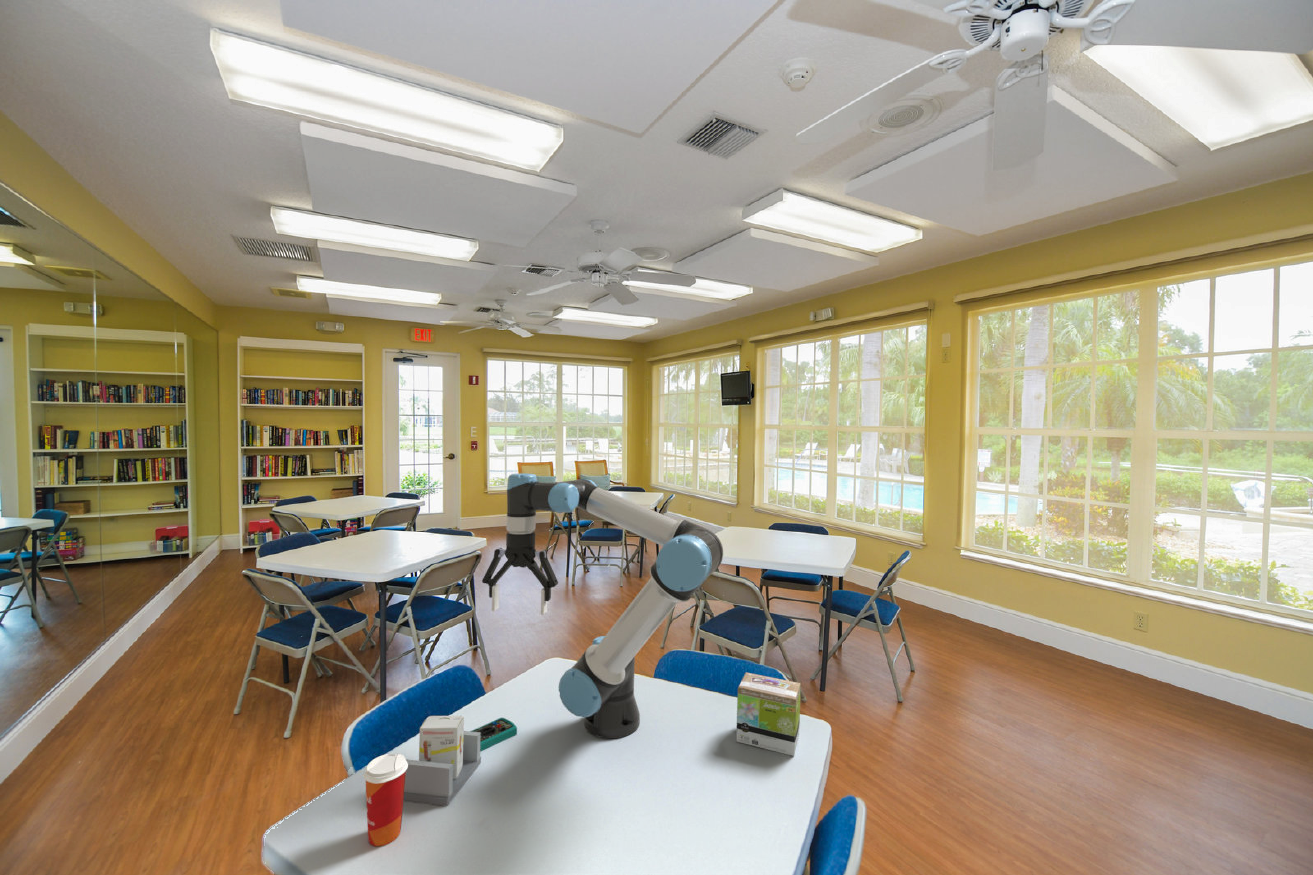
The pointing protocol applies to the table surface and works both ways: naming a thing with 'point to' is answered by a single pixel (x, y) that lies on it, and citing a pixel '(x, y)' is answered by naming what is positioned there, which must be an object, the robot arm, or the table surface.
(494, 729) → the digital multimeter
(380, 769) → the paper cup
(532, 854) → the table surface
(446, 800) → the dock
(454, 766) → the ink box
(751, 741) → the tea box
